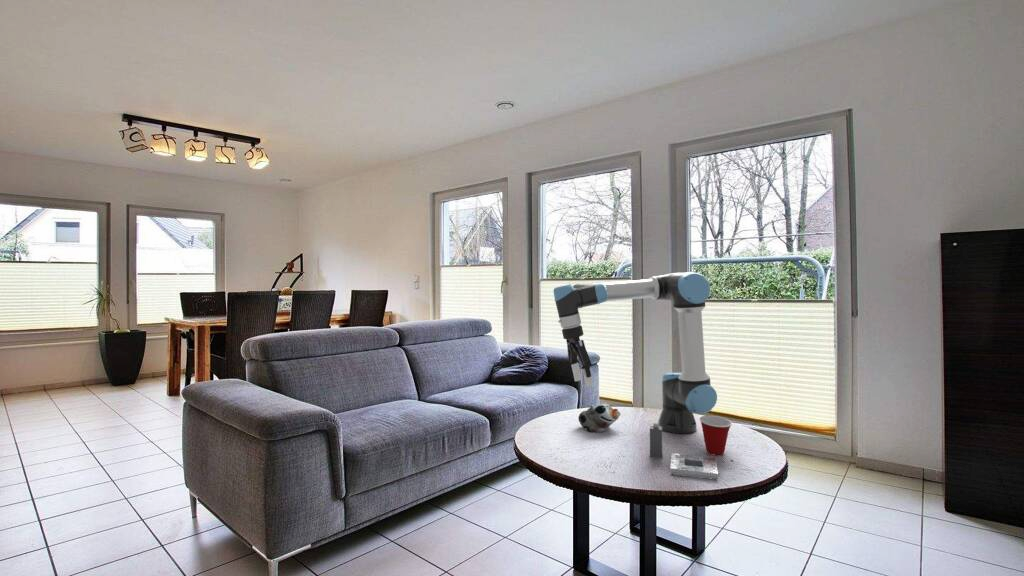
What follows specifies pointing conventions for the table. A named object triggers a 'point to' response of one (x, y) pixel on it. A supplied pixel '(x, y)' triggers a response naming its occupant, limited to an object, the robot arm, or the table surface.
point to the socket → (693, 466)
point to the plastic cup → (715, 433)
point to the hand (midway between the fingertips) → (584, 383)
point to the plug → (656, 441)
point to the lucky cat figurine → (598, 417)
